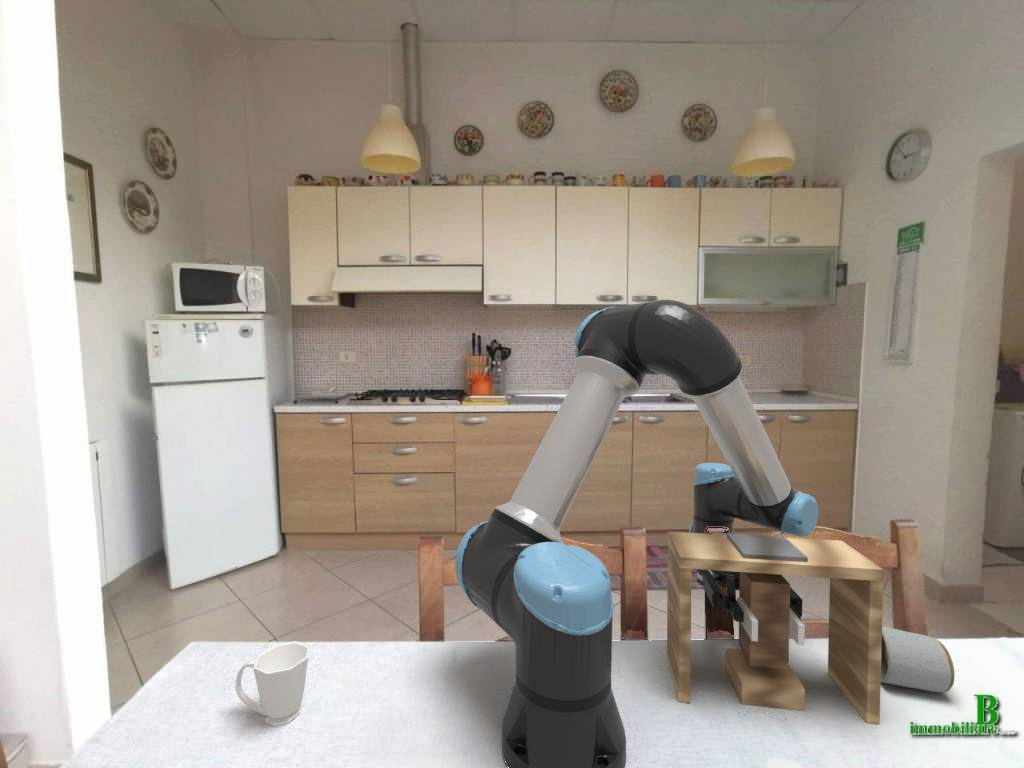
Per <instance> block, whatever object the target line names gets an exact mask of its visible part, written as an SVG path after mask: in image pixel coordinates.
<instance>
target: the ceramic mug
mask: <svg viewBox="0 0 1024 768" xmlns="http://www.w3.org/2000/svg"><path fill="white" fill-rule="evenodd" d="M882 683H883V684H888V685H892V686H899V687H903V688H910V689H916V690H922V691H925V692H926V691H927V692H930V693H931V692H932V693H947V692H949V691H950V690H951V689H952V687H953V685H954V683H955V668H954V663H953V660H952V657H951V655H950V653H949V651H948V649H947V648H946V647H945V645H944V644H943V643H942V642H941V641H940V640H938V639H936V638H933V637H932V636H928V635H925V634H920V633H916V632H909V631H905V630H902V629H897V628H892V627H888V626H884V625H882V649H881V684H882Z"/></svg>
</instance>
